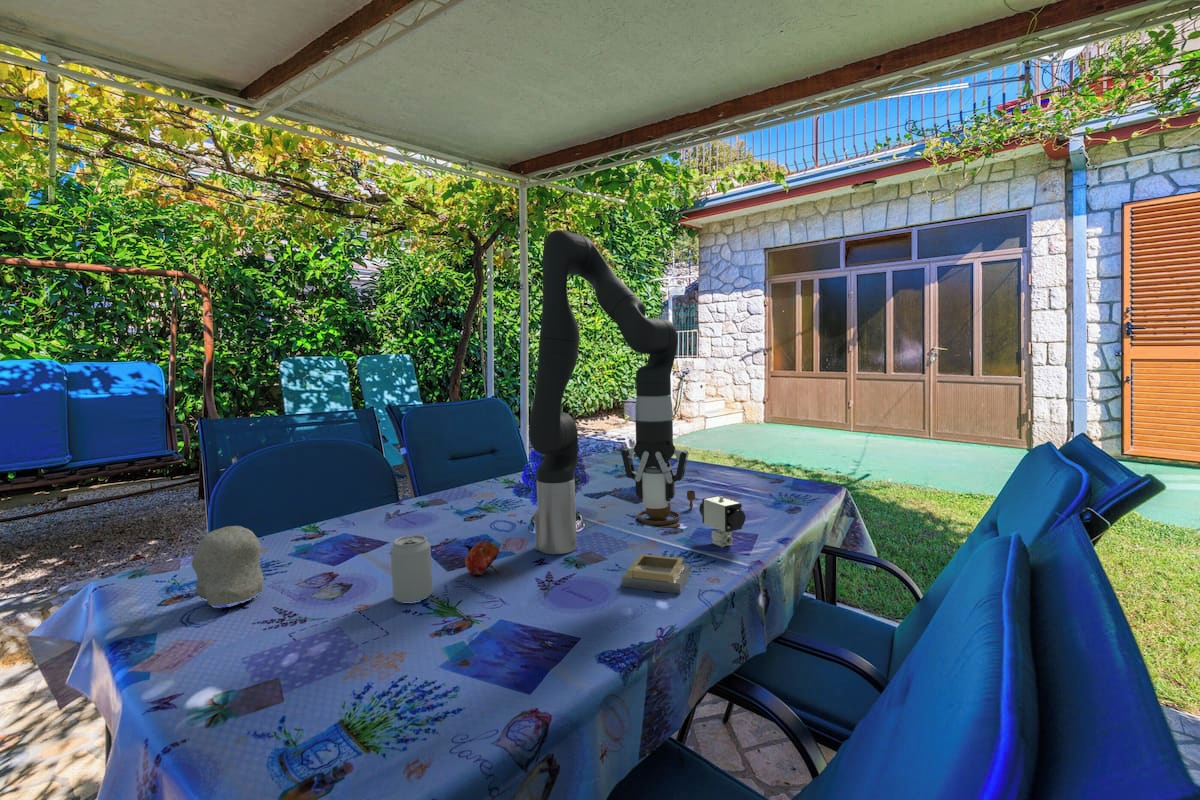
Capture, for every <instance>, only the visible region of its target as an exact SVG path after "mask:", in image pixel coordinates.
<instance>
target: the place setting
mask: <svg viewBox="0 0 1200 800" xmlns="http://www.w3.org/2000/svg"><path fill="white" fill-rule="evenodd" d="M686 499H687V500H688V501H689V505H688V506H689V510H690V509H692V508H693V507H694V505H693V501H695V499H696V491H695V490H686ZM671 505H672V504H671V503H669V502H668V506H667V507H665V508H660V509H651V508H646V507H645V510H644V511H640V512H638V514H637V520H638V521H639V522H640V521H641V523H642V522H643V523H642V524H645V523H646V524H645V525H649V524H651V525H650V526H660V527H658V529H663V528H664V527H665V528H678V527H680V526H681V523H677V522H679V520H680V518H681V517H680V515H681V514H680V513H679V512H676V511H674V510H672V509H671V507H672V506H671ZM644 514H647V516H648V518H650V519H651V520H650V519H644V518H643V517H642V518H640V516H642V515H644ZM670 514H671V515H673V516H675V517H677V518H675V517H674V518H673V519H670V520H666V519H667V518H668V517H670ZM673 516H672V517H673ZM654 520H655V521H654ZM662 520H663V521H662ZM675 522H676V523H675ZM672 523H673V524H672ZM666 524H669V525H666Z"/></svg>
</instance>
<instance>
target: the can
mask: <svg viewBox="0 0 1200 800" xmlns="http://www.w3.org/2000/svg"><path fill="white" fill-rule="evenodd" d="M389 550H390V551H389V552H390V565H391V579H392V580H391V582H392V584H391V586H392V597H393V599H394V600H395V601H397V602H398V601H400V602H414V601H419V600H422V599H424V598H426V597H428V598H429V596H430V595H432V594H433V592H434V589H433V574H432V573H433V569H432V552H431V551H432V549H431V543H430V542H429V541H428V540H427V537H426V536H425V535H422V534H410V535H409V534H408V535H403V536H401V537H397V538H396V539H394V540H393V545H392V547H391V548H390V549H389Z"/></svg>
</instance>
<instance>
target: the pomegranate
mask: <svg viewBox="0 0 1200 800" xmlns="http://www.w3.org/2000/svg"><path fill="white" fill-rule="evenodd" d="M463 548H466V549H468V551H467V556H465V560H464V561H465V567H466V569H467V570H468V572H470V573H469V574H472V575H473V576H475V575H481V576H483V575H484V573H485V572H486V571H487V570H488V569H489V568H491V569H492V570H493V571H495V572H497V573H498V574H499V573H500V572H499V571H498V570H497V569H496V568H495V567H494V566H493V565H492V564H493V562H494V561H495V560H496V559H497V557H498V555H499V554H500V552H501V551H500V550H499V548H498V547H497V545H496V544H495V543H493V542H490V541H482V540H481V541H480V542H477V543H476V544H475V545H474V546H473V545H472V546H471V545H468V544H465V546H463ZM486 569H487V570H486ZM485 570H486V571H485Z"/></svg>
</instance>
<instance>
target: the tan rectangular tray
mask: <svg viewBox="0 0 1200 800" xmlns="http://www.w3.org/2000/svg"><path fill="white" fill-rule="evenodd" d="M690 575H691V565H689V564H688V565H687V564H685V558H684V557H673V556H672V557H671V556H664V555H663V556H662V555H656V554H655V555H654V554H646V553H640V554H639V556H638V557H637V558H636V559H635V560H634V561H633V563H632V564H631V565H630V566H629V567H628V569H627V570H626V571H625V572H624V573H623V575H622V576H621V587H623V588H629V589H630V588H631V589H639V590H646V591H655V592H662V593H671V594H678V595H680V594H681V592H682V591H683V589H684V587H685V585H686V584H685V583H687V582H688V580H689V578H690ZM686 581H687V582H686Z"/></svg>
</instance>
